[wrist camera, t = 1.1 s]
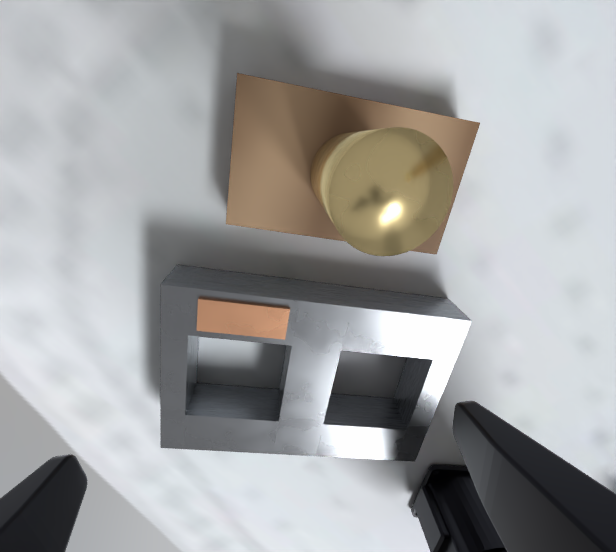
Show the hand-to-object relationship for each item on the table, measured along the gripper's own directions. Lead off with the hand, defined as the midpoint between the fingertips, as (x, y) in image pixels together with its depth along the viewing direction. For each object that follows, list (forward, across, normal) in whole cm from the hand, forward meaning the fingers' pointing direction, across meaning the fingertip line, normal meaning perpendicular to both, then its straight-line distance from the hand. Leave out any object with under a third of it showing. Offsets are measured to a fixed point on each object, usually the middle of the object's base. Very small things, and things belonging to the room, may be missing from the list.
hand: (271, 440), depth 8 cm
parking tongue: (+14, -4, -4) cm, 15 cm away
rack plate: (+14, -1, +8) cm, 16 cm away
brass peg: (+12, -4, -4) cm, 13 cm away
